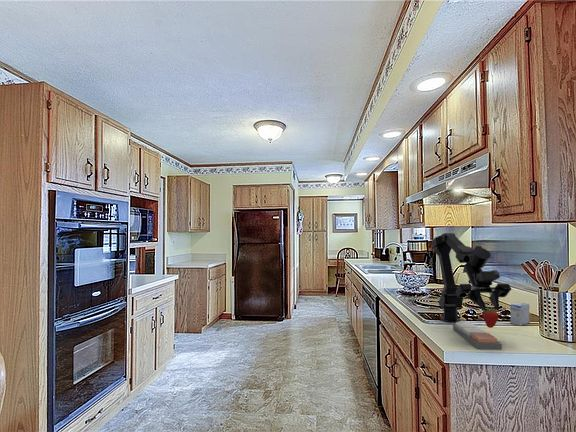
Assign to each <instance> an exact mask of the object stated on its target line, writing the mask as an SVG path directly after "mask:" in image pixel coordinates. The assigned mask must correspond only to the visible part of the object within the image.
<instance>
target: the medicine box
mask: <svg viewBox="0 0 576 432" xmlns="http://www.w3.org/2000/svg"><path fill="white" fill-rule="evenodd" d="M509 306H510V324H511V323H512V325H515V326H524V325H526V324H529V323H530V304H529V303H527V302H521V301H518V302H517V301H516V302H515V303H511V304H510V305H509Z"/></svg>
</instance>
